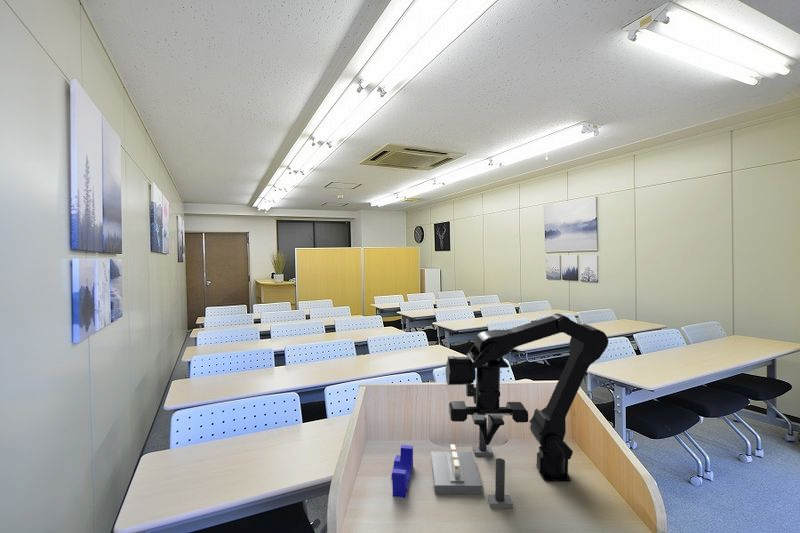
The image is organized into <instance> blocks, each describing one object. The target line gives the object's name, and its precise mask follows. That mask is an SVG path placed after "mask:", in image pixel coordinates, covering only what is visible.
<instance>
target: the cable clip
mask: <svg viewBox="0 0 800 533" xmlns="http://www.w3.org/2000/svg"><path fill="white" fill-rule="evenodd" d="M413 469H414V445H411V444H410V445H408V444H401V445H400V455H399V454H396V455H395V457H394V461H393V467H392V470H391V471H392V472H391V482H392V498H394V497H395V498H401V499H406V497H407V494H408V493H407V492H408V488H409V485H410V481H411V477H412V472H413Z"/></svg>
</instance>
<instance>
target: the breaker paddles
mask: <svg viewBox="0 0 800 533" xmlns="http://www.w3.org/2000/svg"><path fill="white" fill-rule="evenodd" d="M449 447H450V448H449V450H450V451H449V452H450V455H451V459H452V465H453V471H454V476H455V477H456V478H459V475H460V466H459V461H458V456H457V452H458V451H457V448H456V447H457V446H456V444H455V443H454V444H453V443H451V444H449Z"/></svg>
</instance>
